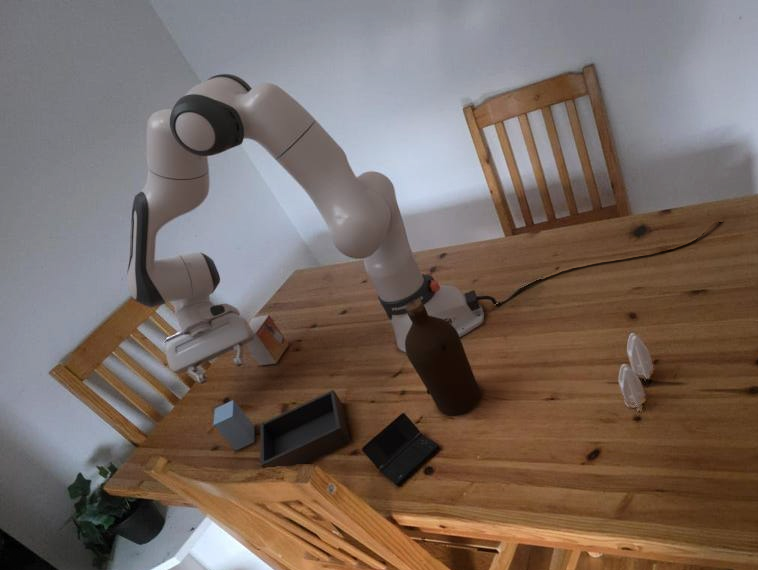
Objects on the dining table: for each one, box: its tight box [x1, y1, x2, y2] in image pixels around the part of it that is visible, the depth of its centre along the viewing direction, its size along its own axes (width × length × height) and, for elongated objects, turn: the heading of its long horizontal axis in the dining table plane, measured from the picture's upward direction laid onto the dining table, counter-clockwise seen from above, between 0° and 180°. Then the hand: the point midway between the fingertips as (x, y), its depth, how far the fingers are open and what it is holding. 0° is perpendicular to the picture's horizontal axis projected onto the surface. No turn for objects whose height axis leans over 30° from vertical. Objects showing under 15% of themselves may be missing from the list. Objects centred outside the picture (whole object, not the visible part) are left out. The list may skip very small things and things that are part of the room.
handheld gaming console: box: [361, 412, 440, 487], centre depth 114 cm, size 12×7×10 cm
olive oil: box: [405, 299, 481, 417], centre depth 116 cm, size 11×11×25 cm
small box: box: [244, 314, 290, 366], centre depth 158 cm, size 8×6×10 cm
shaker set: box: [617, 332, 654, 413], centre depth 107 cm, size 12×4×11 cm, turn 155°
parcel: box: [213, 399, 255, 451], centre depth 134 cm, size 4×6×9 cm
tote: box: [259, 389, 351, 469], centre depth 128 cm, size 18×14×5 cm
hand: (222, 373), depth 141 cm, fingers open, 8 cm apart
